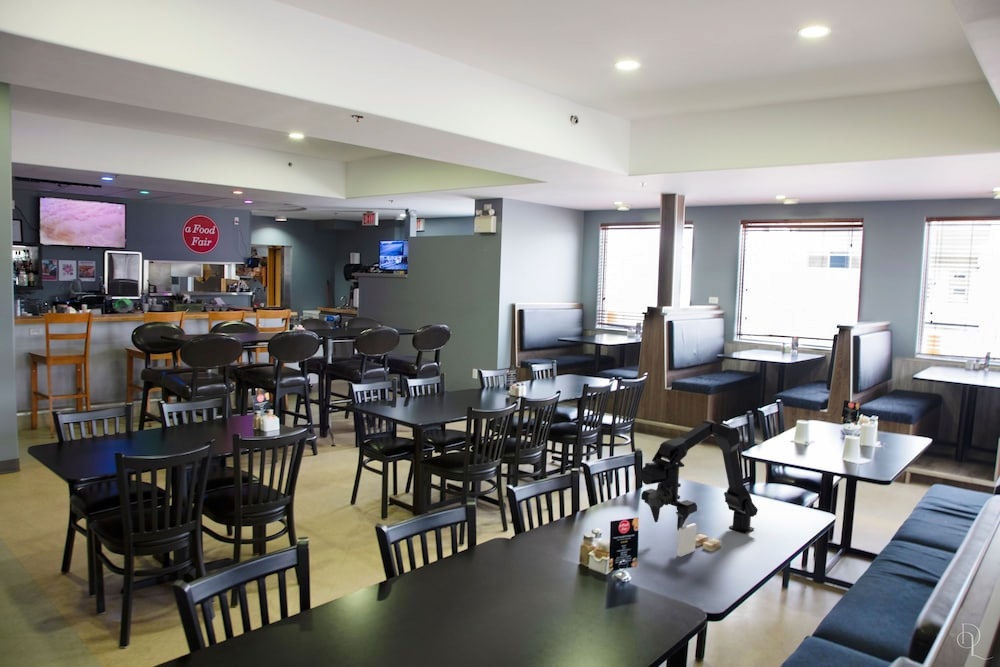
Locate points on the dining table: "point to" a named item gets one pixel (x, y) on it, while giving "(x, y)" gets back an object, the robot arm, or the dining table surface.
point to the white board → (686, 539)
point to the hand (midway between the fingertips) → (667, 526)
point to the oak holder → (707, 542)
